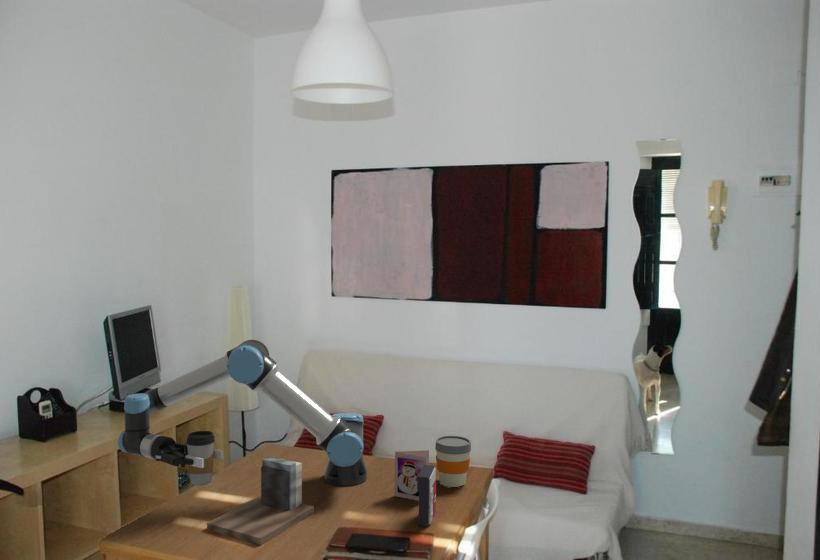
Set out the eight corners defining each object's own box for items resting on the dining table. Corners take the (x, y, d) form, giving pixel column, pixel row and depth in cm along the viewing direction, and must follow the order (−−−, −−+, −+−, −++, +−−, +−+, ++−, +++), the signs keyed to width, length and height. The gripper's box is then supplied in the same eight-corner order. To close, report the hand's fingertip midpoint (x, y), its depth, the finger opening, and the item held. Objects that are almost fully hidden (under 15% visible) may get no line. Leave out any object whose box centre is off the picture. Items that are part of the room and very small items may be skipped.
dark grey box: (430, 527, 198) (431, 477, 197) (416, 525, 199) (417, 476, 198) (436, 512, 209) (437, 465, 208) (423, 510, 210) (423, 464, 209)
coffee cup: (190, 477, 209) (189, 430, 208) (217, 477, 210) (217, 430, 209) (183, 487, 201) (183, 438, 200) (212, 487, 201) (211, 438, 200)
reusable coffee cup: (433, 488, 228) (433, 445, 227) (435, 475, 241) (436, 434, 240) (469, 490, 227) (470, 447, 226) (470, 477, 239) (471, 436, 238)
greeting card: (393, 496, 221) (393, 452, 220) (403, 489, 227) (403, 446, 226) (424, 503, 216) (425, 457, 215) (433, 495, 222) (434, 451, 221)
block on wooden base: (206, 529, 194) (206, 475, 193) (263, 499, 216) (263, 451, 215) (260, 545, 185) (260, 489, 184) (313, 512, 207) (314, 462, 206)
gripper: (183, 449, 222) (236, 461, 212) (132, 468, 204) (187, 482, 194) (183, 427, 222) (236, 438, 211) (132, 444, 204) (187, 457, 193)
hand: (212, 459), depth 202 cm, fingers closed on coffee cup, 7 cm apart
